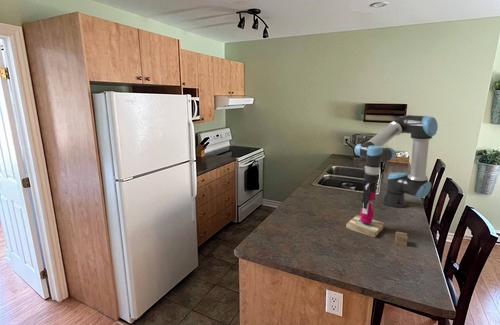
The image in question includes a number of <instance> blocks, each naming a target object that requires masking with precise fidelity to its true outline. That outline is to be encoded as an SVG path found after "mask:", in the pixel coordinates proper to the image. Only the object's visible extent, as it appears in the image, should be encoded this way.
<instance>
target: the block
mask: <svg viewBox="0 0 500 325" xmlns="http://www.w3.org/2000/svg"><path fill="white" fill-rule="evenodd" d="M408 241H409V236H408V233H407V232H403V231H402V232H401V231H395V237H394V242H395V245H398V246H403V247H408Z"/></svg>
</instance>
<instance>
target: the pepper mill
mask: <svg viewBox="0 0 500 325" xmlns="http://www.w3.org/2000/svg"><path fill="white" fill-rule="evenodd" d="M374 198H375V199H376V193H375V194H374V193H373V192H371V193H370V197H369V201H368V203H369V206H368V214H364V213H362V210H363V207H362V208H361V210H360V212H359V216H361V218H360V221H361V222H364V223H371V222H372V220H373V217H374V216H375V215H374V213H375V212H374V210H373V205H372V203H374V200H373V199H374Z"/></svg>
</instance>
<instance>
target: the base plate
mask: <svg viewBox="0 0 500 325" xmlns="http://www.w3.org/2000/svg"><path fill="white" fill-rule="evenodd" d="M360 218H361V215H360V214H359V215H358V214H357V215H355V216H354V217H353V218H351V219H350V220H349V221H348V222H347V223H346V226H345V228H346V229H347V230H351V231H353V232H356V233H360V234H363V235H366V236H369V237H372V238H376V237H377V235H378V234H379V233H380V232H381V231H382V230H383V229H384V227H385V222H381V221H379V220H374V219H372V222H371V223H364V222H361V221H360Z"/></svg>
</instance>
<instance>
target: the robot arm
mask: <svg viewBox="0 0 500 325" xmlns="http://www.w3.org/2000/svg"><path fill="white" fill-rule="evenodd" d="M438 128H439V124H438V121H437V119H436V118H435V117H433V116H427V115H411V114H408V115H403V116H400V117H398V118H396V119H394V120H392V121H391V122H389V123H388V125H387V126H386V127H385V128H384V129H382V130H381V131H379V133H377V134H376V135H374V136H372V138H370V139H368V140H367V141H366V142H365V143H357V144H356V145H355V147H354V150H353V151H354V154H355V156H359V157H361V158H366V159H365V166H364V175H363V179H364V181H366V183H365V185H364V186H363V192H362V193H363V194H362V201H361V203H363V205H362V208H363V210H362V213H364V214H368V206H369V203H368V201H369V197H370V193H371V192H373V193H374V194H375V195H376V189H377V182H378V181H379V179H380V172H381V163H382V162H383V163H385V162H389V161H392V160H393V159H394V158H395V157H396V151H395V150H394V149H393V148H392V147H383V146H384V145H385V144H386V143H388V142H389V141H391V140H392V139H393V138H395V137H396V136H399V135H401V134H410V138H411V139H412V150H411V151H412V152H411V160H410V162H411V163H410V173H409V174H407V173H406V172H397V171H396V172H390V173H388V177H387V183H386V191H385V193H384V195H383V197H382V201H381V202H382V203H383V205H386V206H389V207H392V208H404V207H406V203H407V202H406V198H405V195H406V194H407V195H410V196H413V197H416V198H421V199H422V198H425V197H426V196H428V194H429V193H430V191H431V188H432V182H431V181H429V177H428V176H427V166H428V165H427V164H428V153H429V144H430V140H431V139H433V137H434V136H435V135H436V134H437V132H438ZM375 200H376V197H375V198H374V199H373V201H375ZM373 203H374V202H373ZM373 203H372V206H373Z"/></svg>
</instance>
